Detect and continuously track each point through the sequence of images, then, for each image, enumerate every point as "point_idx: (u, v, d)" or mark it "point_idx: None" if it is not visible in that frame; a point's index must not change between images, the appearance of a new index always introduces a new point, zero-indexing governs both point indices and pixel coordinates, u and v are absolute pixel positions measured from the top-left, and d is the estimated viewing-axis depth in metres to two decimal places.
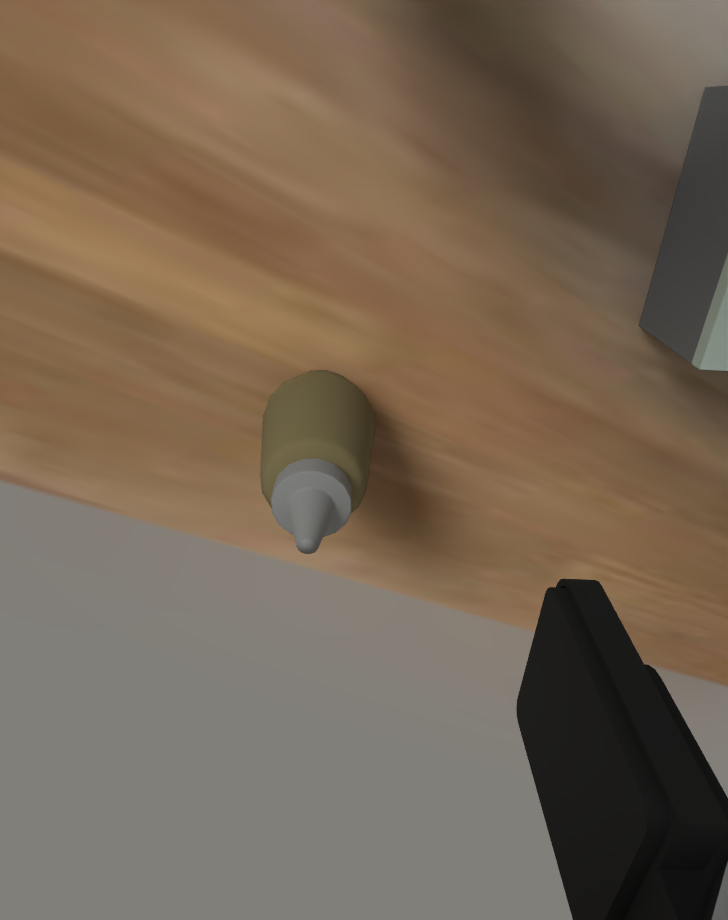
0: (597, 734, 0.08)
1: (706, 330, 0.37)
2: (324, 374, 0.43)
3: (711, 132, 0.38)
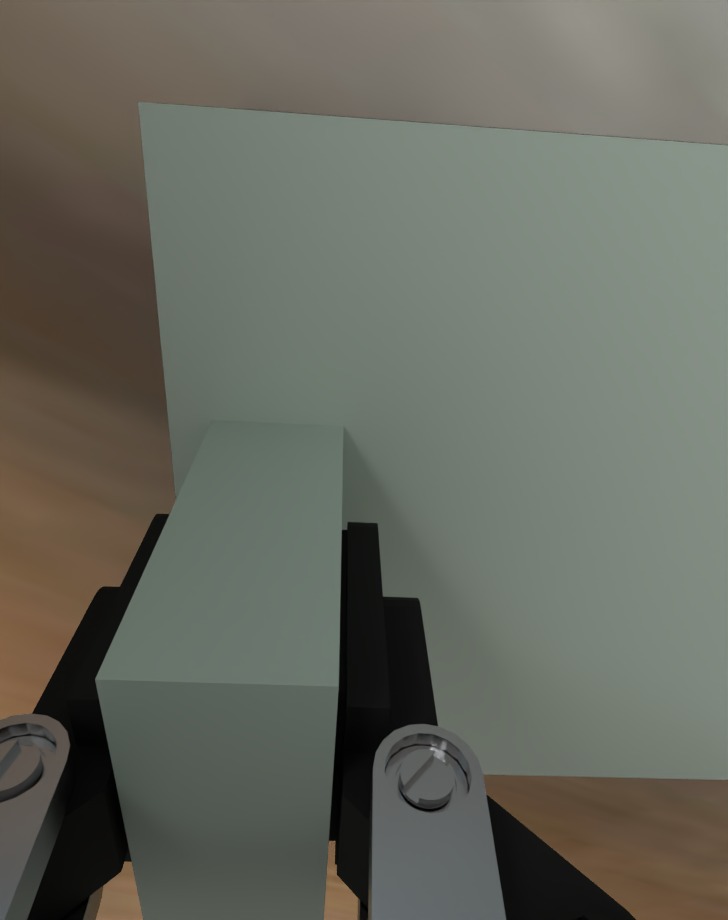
0: None
1: None
2: None
3: None
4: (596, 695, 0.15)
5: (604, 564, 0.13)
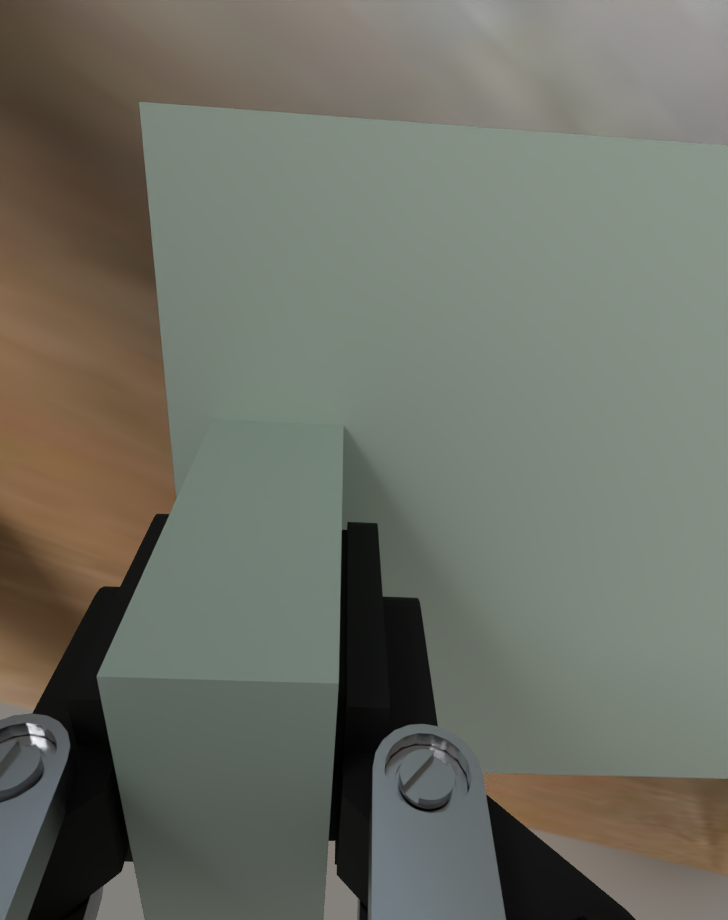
0: None
1: None
2: None
3: None
4: (595, 694, 0.15)
5: (603, 564, 0.13)
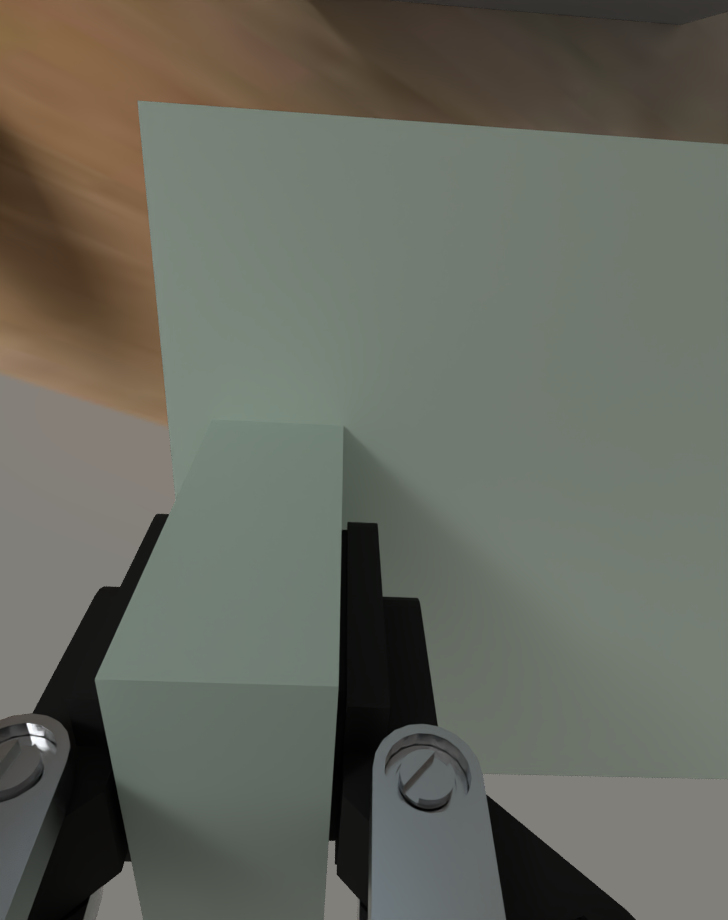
0: None
1: None
2: None
3: None
4: (596, 694, 0.15)
5: (605, 564, 0.13)
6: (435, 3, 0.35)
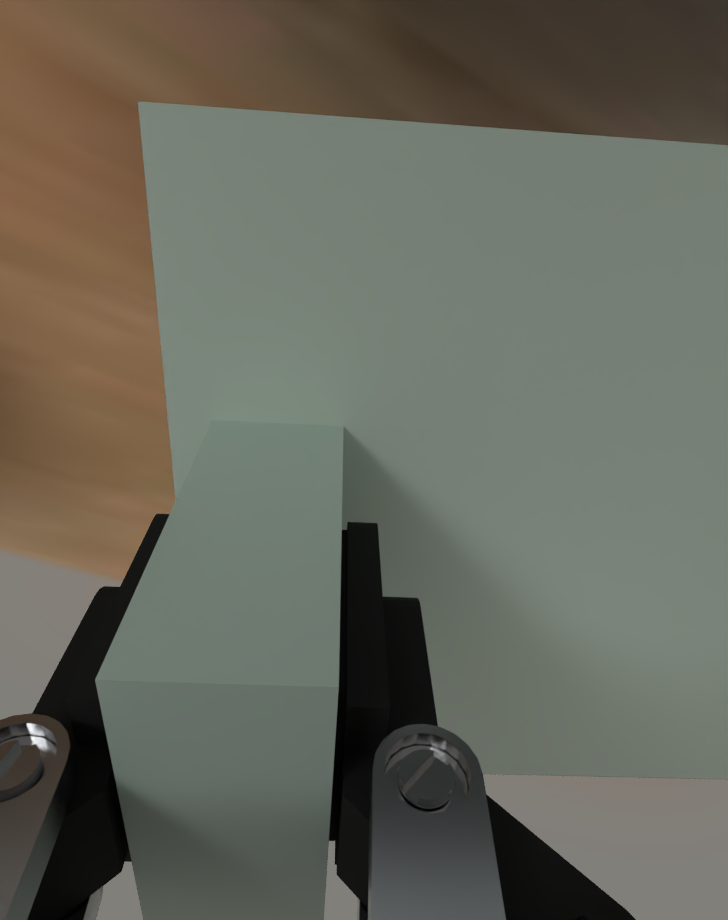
0: None
1: None
2: None
3: None
4: (596, 695, 0.15)
5: (604, 564, 0.13)
6: None
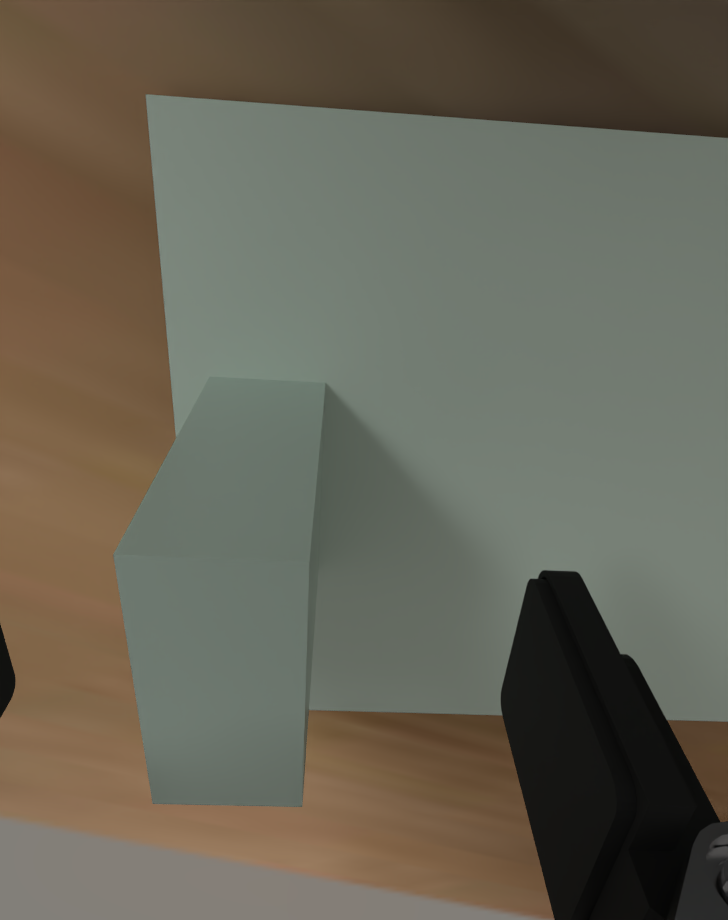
0: (572, 720, 0.08)
1: None
2: None
3: None
4: None
5: (561, 512, 0.15)
6: None
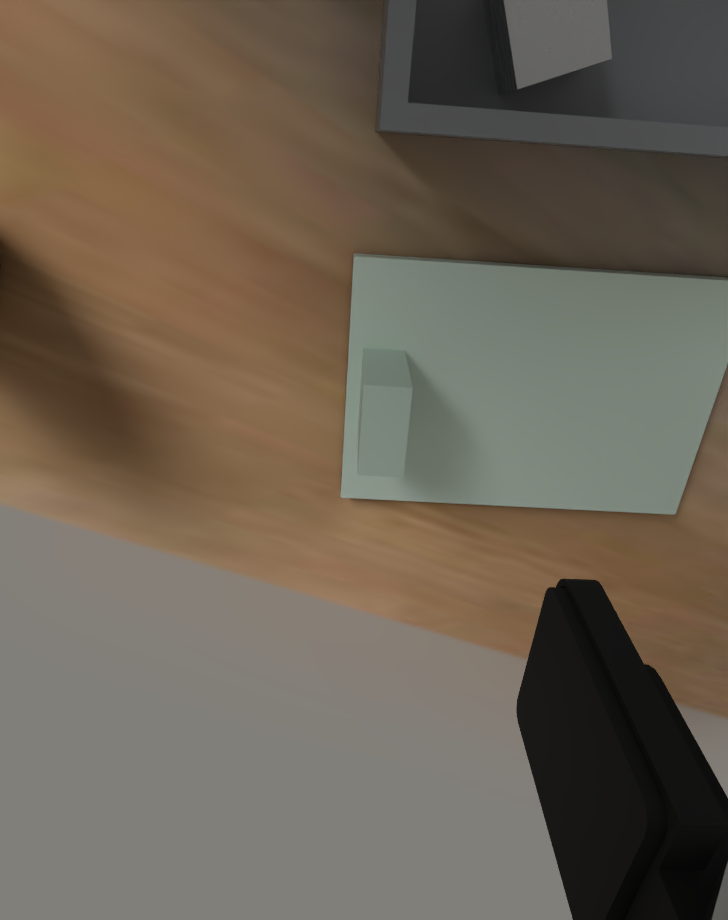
0: (597, 734, 0.08)
1: None
2: None
3: None
4: (497, 462, 0.39)
5: (494, 403, 0.37)
6: None
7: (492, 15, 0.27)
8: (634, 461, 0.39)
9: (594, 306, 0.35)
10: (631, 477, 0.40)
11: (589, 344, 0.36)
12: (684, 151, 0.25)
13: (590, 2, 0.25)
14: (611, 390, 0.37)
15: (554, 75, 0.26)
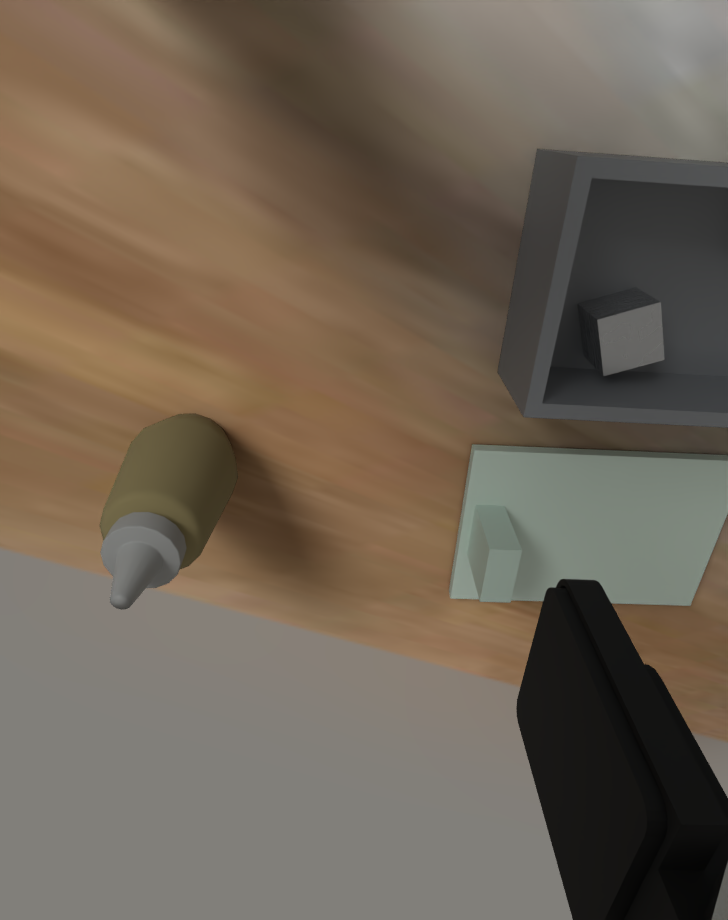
0: (597, 734, 0.08)
1: (452, 574, 0.55)
2: (181, 421, 0.44)
3: (539, 194, 0.39)
4: (564, 574, 0.55)
5: (564, 537, 0.53)
6: None
7: (585, 322, 0.42)
8: (662, 572, 0.55)
9: (637, 477, 0.50)
10: (659, 582, 0.55)
11: (633, 500, 0.51)
12: (710, 426, 0.40)
13: (652, 331, 0.40)
14: (647, 528, 0.52)
15: (627, 369, 0.41)
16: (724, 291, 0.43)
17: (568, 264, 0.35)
